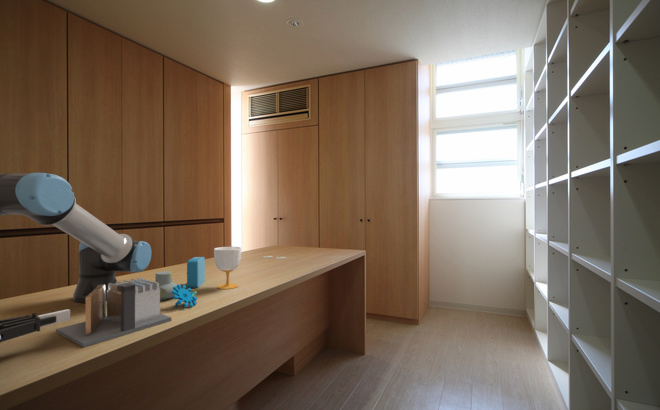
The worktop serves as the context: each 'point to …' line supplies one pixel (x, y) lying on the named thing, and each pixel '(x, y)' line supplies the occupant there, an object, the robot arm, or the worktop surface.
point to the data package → (195, 272)
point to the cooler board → (111, 322)
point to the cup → (227, 262)
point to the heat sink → (144, 300)
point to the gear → (184, 296)
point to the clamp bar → (95, 307)
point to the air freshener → (165, 284)
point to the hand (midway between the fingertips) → (69, 314)
